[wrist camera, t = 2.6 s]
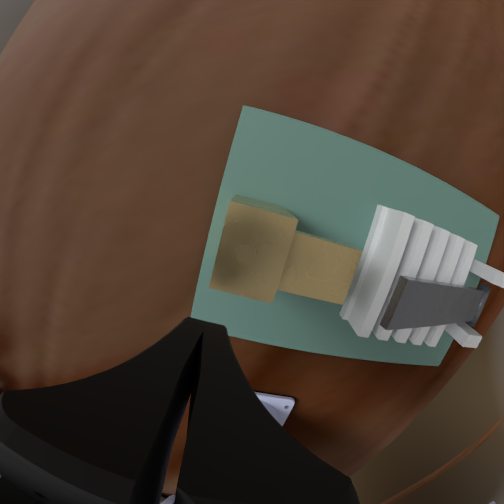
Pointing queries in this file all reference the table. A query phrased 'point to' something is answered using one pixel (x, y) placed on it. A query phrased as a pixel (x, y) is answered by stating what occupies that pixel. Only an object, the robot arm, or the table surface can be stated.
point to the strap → (432, 304)
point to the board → (348, 241)
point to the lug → (279, 256)
